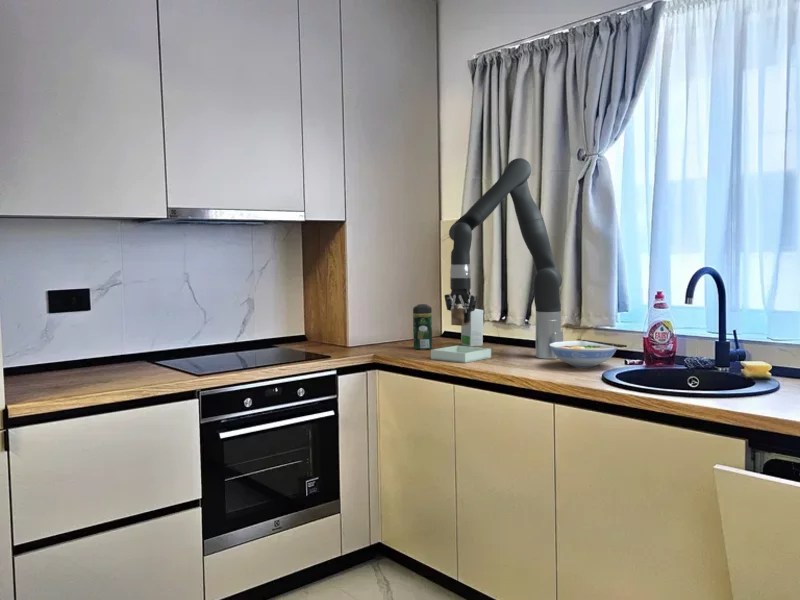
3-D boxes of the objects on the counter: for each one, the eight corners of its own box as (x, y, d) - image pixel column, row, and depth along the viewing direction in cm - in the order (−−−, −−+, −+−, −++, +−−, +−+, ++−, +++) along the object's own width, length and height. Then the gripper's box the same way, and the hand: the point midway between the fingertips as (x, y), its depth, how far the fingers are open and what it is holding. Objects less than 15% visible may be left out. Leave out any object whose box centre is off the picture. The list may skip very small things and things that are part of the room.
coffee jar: (413, 347, 291) (413, 303, 290) (432, 347, 291) (431, 303, 290) (413, 350, 281) (412, 305, 280) (432, 350, 281) (431, 304, 280)
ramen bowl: (534, 363, 242) (534, 340, 242) (588, 359, 250) (588, 336, 250) (577, 374, 219) (577, 348, 218) (635, 369, 227) (635, 344, 227)
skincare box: (460, 344, 297) (460, 308, 296) (473, 343, 300) (473, 308, 299) (470, 346, 290) (470, 310, 289) (484, 345, 292) (483, 309, 291)
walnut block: (470, 324, 256) (470, 308, 255) (462, 325, 252) (461, 309, 252) (459, 323, 259) (459, 308, 259) (451, 324, 255) (451, 308, 255)
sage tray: (491, 357, 257) (491, 348, 256) (465, 363, 245) (465, 353, 245) (457, 354, 268) (457, 345, 267) (430, 359, 256) (430, 349, 256)
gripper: (482, 276, 252) (482, 322, 253) (451, 276, 262) (451, 320, 263) (469, 277, 247) (470, 324, 248) (439, 276, 257) (439, 322, 258)
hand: (460, 322), depth 256 cm, fingers closed on walnut block, 5 cm apart
